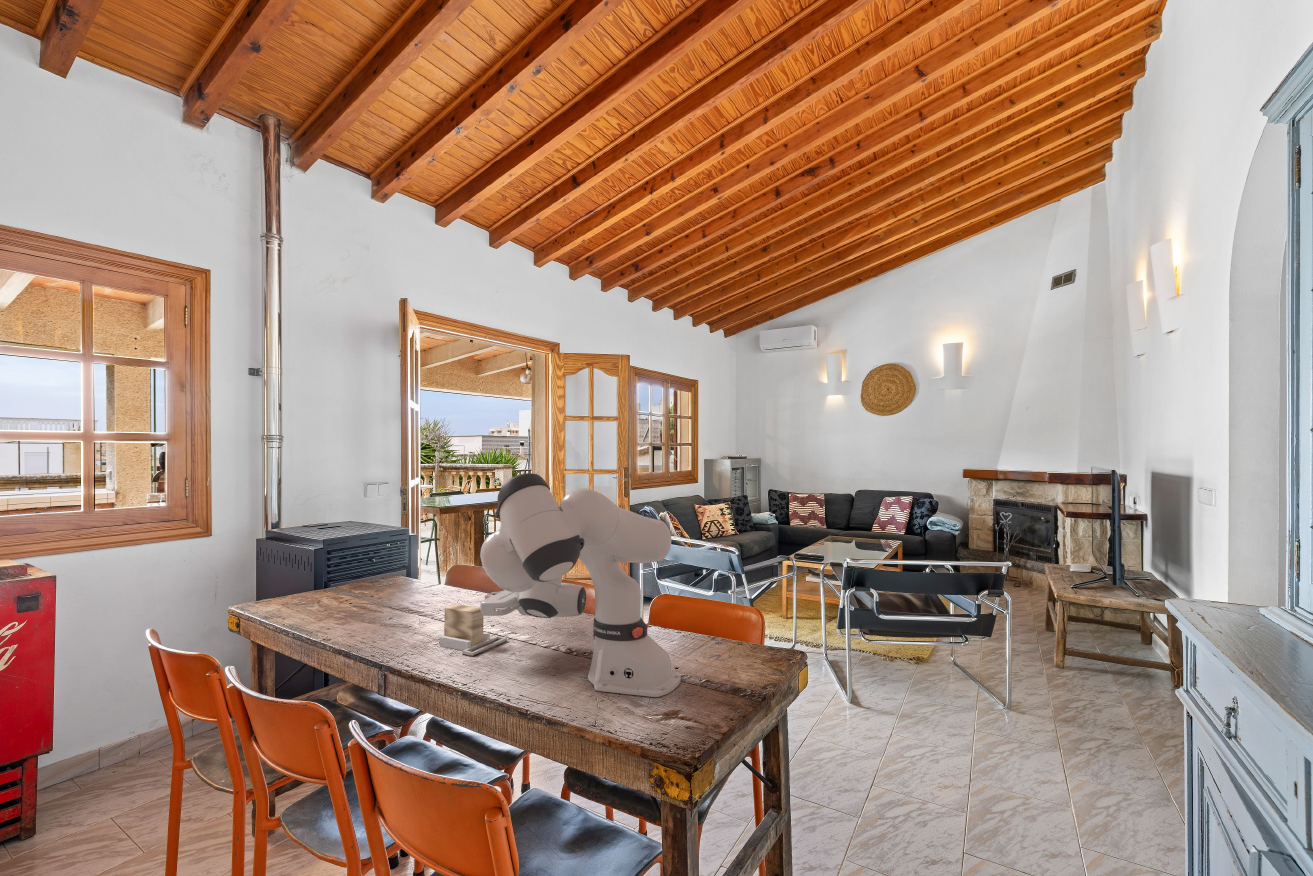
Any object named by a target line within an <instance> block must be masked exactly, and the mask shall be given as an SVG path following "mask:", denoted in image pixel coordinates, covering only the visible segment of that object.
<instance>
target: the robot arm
mask: <svg viewBox="0 0 1313 876" xmlns="http://www.w3.org/2000/svg"><path fill="white" fill-rule="evenodd" d="M494 517H495V518H497V519H498V520H499V522H500V527H499V529H498V530H496V531H494V532H493V533H491V534H489V536H487V537H486V538H485V540H484V541H483V543H482V545H481V548H480V553H479V554H480V555H479V556H480V561H481V565H482V567H483V569H484V571H485V573H486V574H487V576H488V577H489V579H490V580H491V581H493V583H494V584H495V585H496V586H497V587H499V588H500V589H502V590H500V591H493V592H490V593H488V594H485V595H484V600H481V601H480V603H479V606H480V607H479V608H480V610H481V614H482V615H483V616H484V617H485V616H486V617H492V616H493V617H501V616H506V615H508V614H510V613H513V612H515V611H516V610H517V611H518V613H519V614H520V615H521V616H524V617H525V616H526V617H529V616H530V617H535V618H540V619H544V618H545V619H551V618H573V617H579V616H581V615H582V614H583V612H584V610H585V608H586V602H587V591H586V588H585V587H584V586H583V585H580V584H573V583H568V582H562V581H563V576H565V575H566V574H567V573H569V572H570V571H571V570H573V568H574V567H575V565H576V564H577V562H578V560H580V561H581V563H582V564H583V565H584V566H585V568H586V569H587V571H588V573H589V575H590V578H591V580H592V584H593V588H594V601H595V604H594V605H595V606H594V607H595V608H594V609H595V612H594V613H595V617H594V618H593V623H592V624H593V627H592V628H593V630H592V632H593V633H592V635H593V640H594V641H593V642H594V643H593V649H592V650H593V651H592V657H591V663H590V667H589V671H588V675H587V680H588V681H589V682H590V683H591V684H592V685H593V686H594V687H593V688H594V690H595V691H597V692H603V693H604V692H605V693H614V694H624V695H632V696H640V697H641V696H642V697H652V698H658V697H662V696H665V695H668V694H670V693H671V692H673V691H674V690H675V689H677V688H678V687H679V685H680V684H681V683H682V678H681V673H679V672H678V671H676V670H675V671H674V670H672V663H671V662H672V661H671V657H670V655H669V654H670V653H668V652H667V651H666V649H664V648H663V647H662V646H661V645H659V644H658V642H656V641H655V640H654V639H653V638H652V637H651V636H650V635H649V634H648V629H649V628H650V627H651V625H650V624H651V621H648V622H645V621H644V619H643V617H642V590H641V586H640V584H639V583H638V581H637V580H635V579H634V578H633V577H631V576H630V575H628V574H626V572H624V570H622V569H623V568H621V566H620V563H633V564H636V563H637V564H647V563H648V564H649V563H654V562H661V561H663V560H664V559H665V558H666V557H667V555H668V553H669V552H670V550H671V547H672V533H671V531H670V528H669V526H668V524H666V523H665V522H664V521H663V520H659V519H656V518H651V517H647V516H644V515H641V514H639V513H637V512H633V511H631V510H629V509H625V508H622V507H619V506H618V505H617V504H616V503H615V502H614V501H612V500H611V499H610V498H608V497H607V496H605V495H604V494H603V493H601V492H599V491H596V490H593V489H590V488H586V487H585V488H584V487H583V488H582V487H581V488H580V487H578V488H575V489H572V490H571V491H569V492H567V494H565V496H564V497H563V498H562V500H561V501H560V504H559V503H558V502H557V499H556V498H555V496H554V495H553V492H552V491H551V487H550V486H549V484H548V483H547V482H546V480H545V479H544V478H543V477H542V476H541V475H539V474H537V473H532V472H531V473H530V472H527V473H522V474H518V475H514V476H513V477H511V478H510V479H507V480H506V481H505V482H504V483H503V484H502V486H501V488H500V489H499V492H498V494H497V507H496V510H495V513H494Z"/></svg>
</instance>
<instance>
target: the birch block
mask: <svg viewBox="0 0 1313 876" xmlns="http://www.w3.org/2000/svg"><path fill="white" fill-rule="evenodd" d="M484 618H485V616H483V615H482V614H481V610H480V607H477V606H471V605H464V604H458V603H456V604H452V605H449V606H446V607H444V620H443V621H444V625H443V626H444V629H443V631H444V632H443V634H444V635H443V636H447V637H452V638H458V639H463V640H469V641H471V647H473V646H475V645H478V644H480V643H482V642H483V632H484Z"/></svg>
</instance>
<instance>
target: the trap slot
mask: <svg viewBox="0 0 1313 876" xmlns="http://www.w3.org/2000/svg"><path fill="white" fill-rule="evenodd" d="M507 641H508V637H505V636H498V635H497V636H494V637H492V638H491V637H490V639H489V640H487V641H484V642H482V643H480V644H478V645H475V646H473V647H471V648H468V649H466V650H464V651H462V650H461V651H462V654H461V655H463V656H465V657H476V656H477V655H480V654H481V653H484V652H487V651H489V650H491V649H493V648H495V647H498V646H499V645H503V644H504V643H506V642H507Z"/></svg>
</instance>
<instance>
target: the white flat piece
mask: <svg viewBox="0 0 1313 876" xmlns="http://www.w3.org/2000/svg"><path fill="white" fill-rule="evenodd" d="M490 634H491V632H487V631H486V632H485V631H483V642H484V641H487V640H489V639H491V635H490ZM439 647H443V648H449V649H452V650H453V649H454V650H458V651H464V650H466V649H468V648H471V641H469V640H463V639H458V638H452V637H447V636H444V635H441V636H439Z"/></svg>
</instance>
